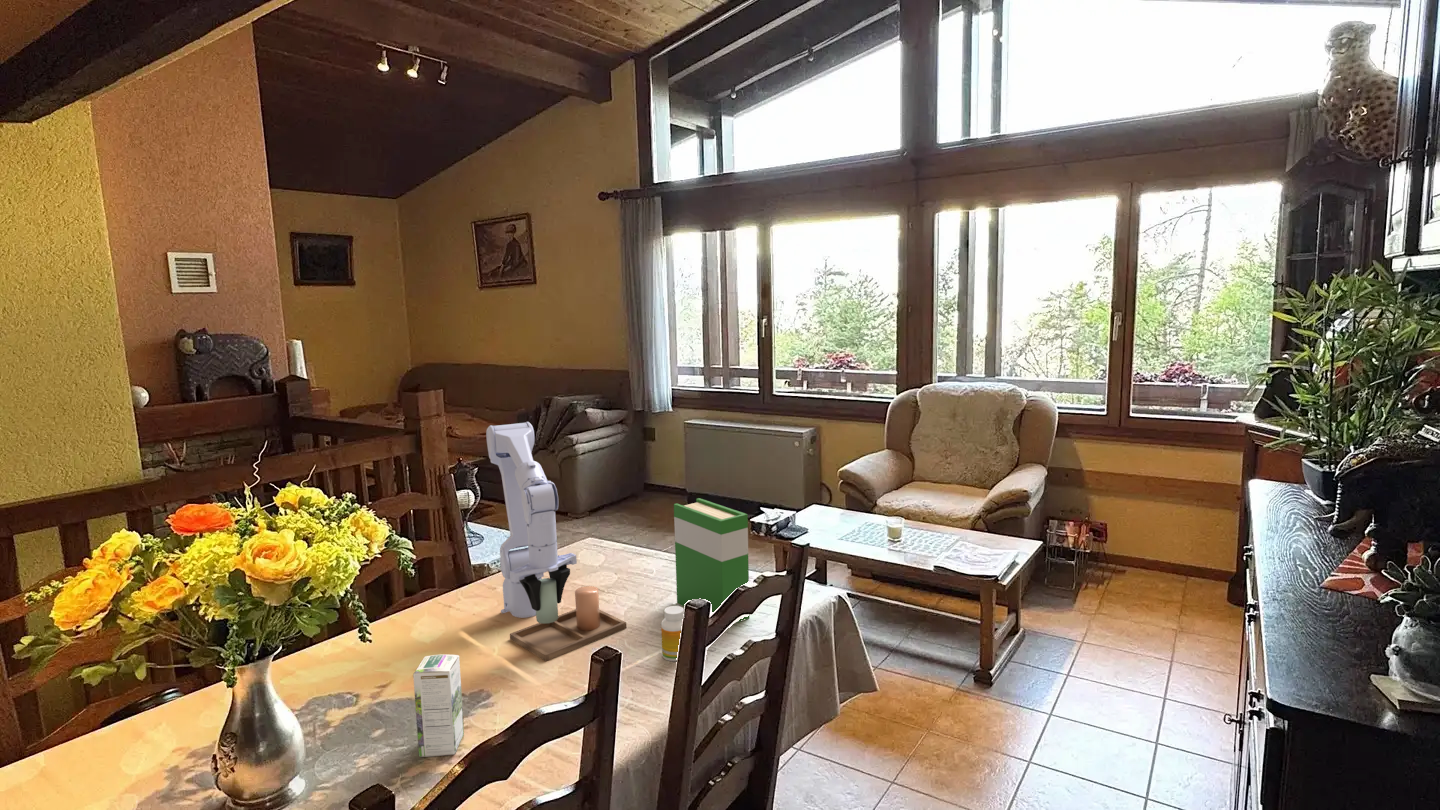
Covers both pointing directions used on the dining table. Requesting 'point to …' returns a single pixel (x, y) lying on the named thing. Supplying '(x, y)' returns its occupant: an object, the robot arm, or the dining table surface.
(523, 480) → the robot arm
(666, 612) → the supplement bottle
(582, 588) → the peach cylinder pillar
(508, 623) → the dining table surface
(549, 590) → the sage tube
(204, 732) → the dining table surface
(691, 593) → the hardback book
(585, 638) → the walnut tray
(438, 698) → the syrup box
